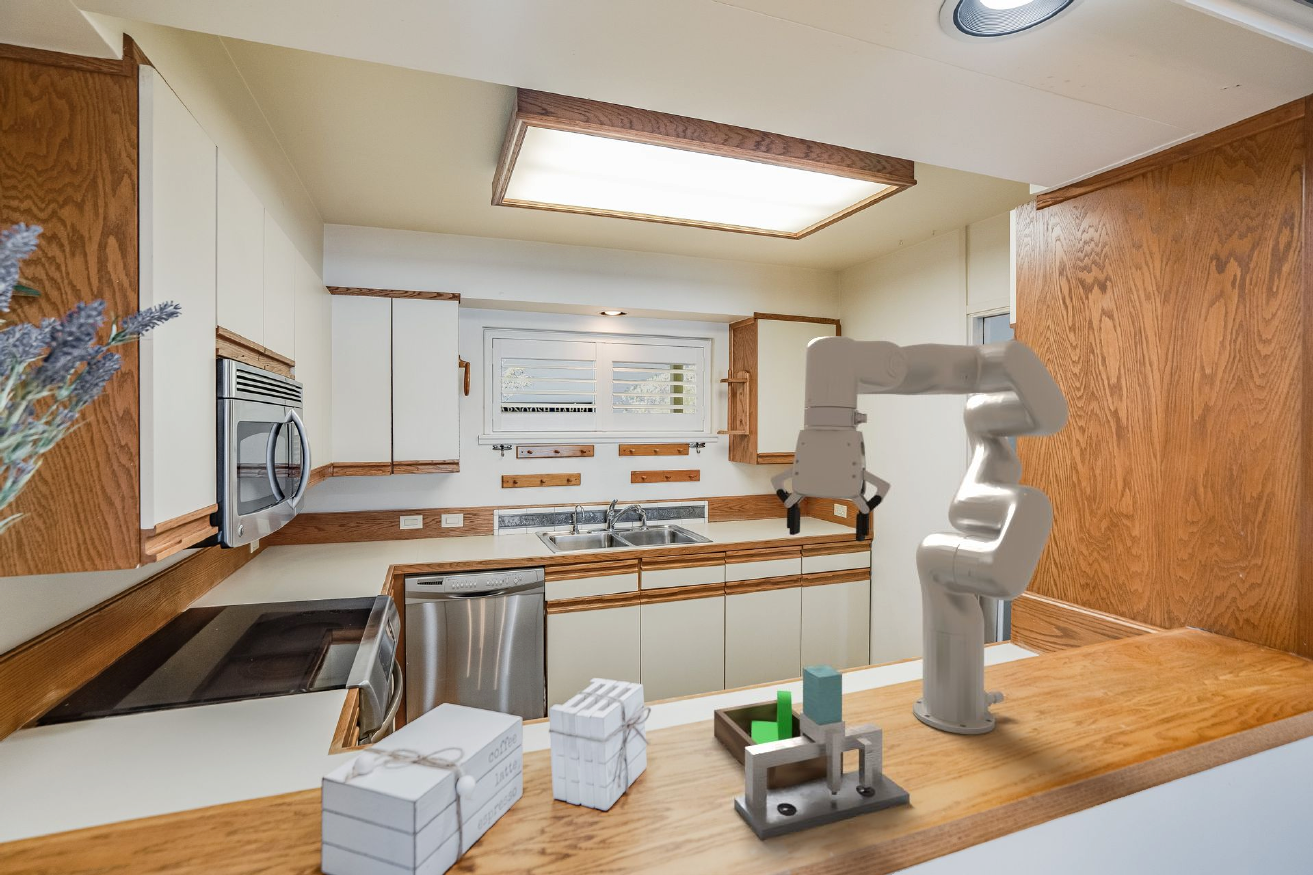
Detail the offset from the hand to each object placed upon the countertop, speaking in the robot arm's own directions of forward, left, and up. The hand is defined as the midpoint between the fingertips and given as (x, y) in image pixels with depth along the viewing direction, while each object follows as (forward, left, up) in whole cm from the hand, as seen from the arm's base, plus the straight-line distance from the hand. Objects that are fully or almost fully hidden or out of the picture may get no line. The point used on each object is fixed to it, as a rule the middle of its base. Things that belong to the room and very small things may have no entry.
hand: (826, 537), depth 90 cm
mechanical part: (+6, -5, -33) cm, 34 cm away
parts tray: (+6, -5, -33) cm, 34 cm away
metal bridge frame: (+7, +8, -33) cm, 35 cm away
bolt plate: (+7, +9, -33) cm, 35 cm away
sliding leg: (+6, +8, -31) cm, 33 cm away
